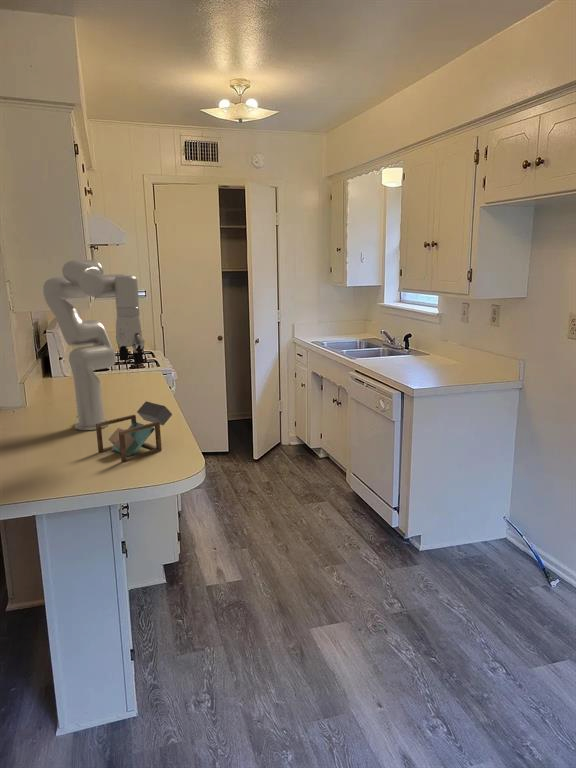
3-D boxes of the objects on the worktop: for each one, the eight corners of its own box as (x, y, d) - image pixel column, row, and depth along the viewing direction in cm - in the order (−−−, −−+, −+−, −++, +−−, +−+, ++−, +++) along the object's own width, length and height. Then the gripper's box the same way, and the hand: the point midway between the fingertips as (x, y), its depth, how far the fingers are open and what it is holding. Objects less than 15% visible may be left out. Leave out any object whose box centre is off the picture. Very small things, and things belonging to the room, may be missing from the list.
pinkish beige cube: (117, 448, 186) (108, 439, 183) (127, 437, 188) (118, 427, 185) (125, 451, 183) (116, 442, 180) (135, 439, 185) (126, 430, 182)
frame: (98, 452, 186) (95, 423, 184) (136, 441, 197) (133, 414, 195) (123, 462, 176) (120, 432, 174) (161, 450, 186) (159, 422, 184)
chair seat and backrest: (116, 453, 189) (108, 445, 186) (153, 409, 198) (145, 401, 195) (134, 460, 181) (126, 452, 179) (172, 414, 190) (165, 406, 188)
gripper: (105, 311, 192) (109, 360, 196) (131, 315, 180) (134, 366, 184) (125, 310, 197) (128, 357, 201) (151, 313, 185) (154, 363, 189)
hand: (131, 361), depth 192 cm, fingers open, 9 cm apart
